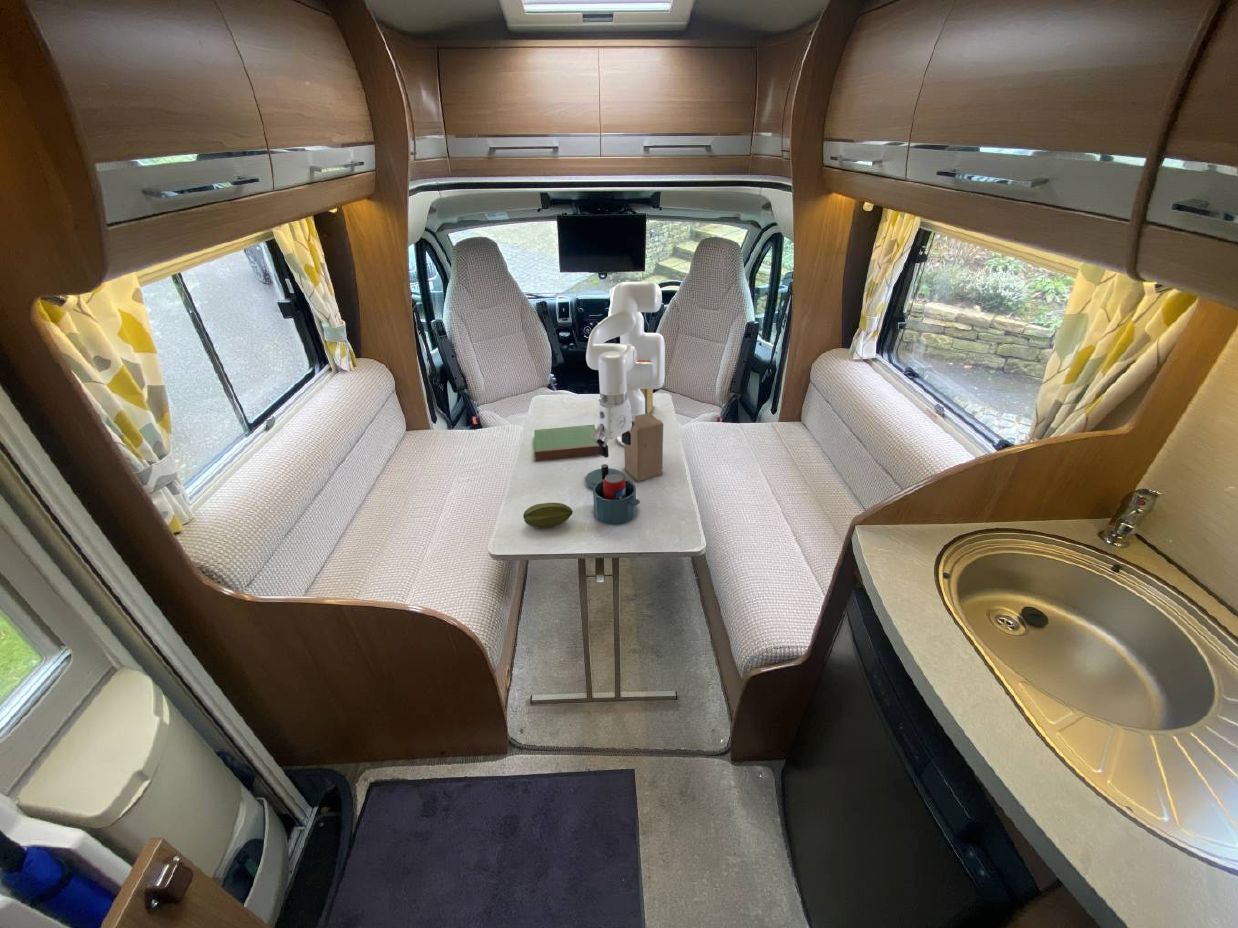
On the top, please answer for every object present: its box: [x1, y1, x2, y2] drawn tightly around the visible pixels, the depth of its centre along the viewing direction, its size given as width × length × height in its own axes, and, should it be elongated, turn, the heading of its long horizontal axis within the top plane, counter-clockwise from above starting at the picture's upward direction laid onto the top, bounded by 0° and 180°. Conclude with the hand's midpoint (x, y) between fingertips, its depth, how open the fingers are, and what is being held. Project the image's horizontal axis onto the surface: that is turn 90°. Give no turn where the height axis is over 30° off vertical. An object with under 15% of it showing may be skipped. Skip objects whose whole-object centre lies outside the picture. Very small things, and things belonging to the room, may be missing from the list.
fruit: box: [522, 502, 574, 529], centre depth 149 cm, size 11×12×7 cm
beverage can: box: [603, 473, 626, 500], centre depth 153 cm, size 7×7×12 cm
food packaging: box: [636, 360, 654, 414], centre depth 214 cm, size 13×9×25 cm
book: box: [533, 424, 601, 462], centre depth 193 cm, size 25×19×4 cm
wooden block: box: [623, 413, 664, 482], centre depth 171 cm, size 10×10×20 cm
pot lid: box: [584, 463, 626, 489], centre depth 170 cm, size 14×14×6 cm
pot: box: [591, 478, 641, 525], centre depth 154 cm, size 13×18×8 cm
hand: (615, 449), depth 148 cm, fingers open, 9 cm apart
